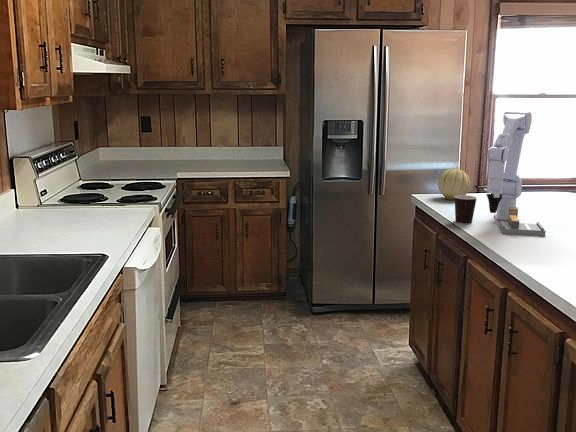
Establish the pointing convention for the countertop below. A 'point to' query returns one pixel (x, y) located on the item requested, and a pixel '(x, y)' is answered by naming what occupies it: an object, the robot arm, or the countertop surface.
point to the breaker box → (522, 229)
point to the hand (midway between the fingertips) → (492, 212)
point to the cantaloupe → (453, 183)
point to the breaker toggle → (513, 221)
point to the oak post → (513, 212)
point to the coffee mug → (464, 208)
